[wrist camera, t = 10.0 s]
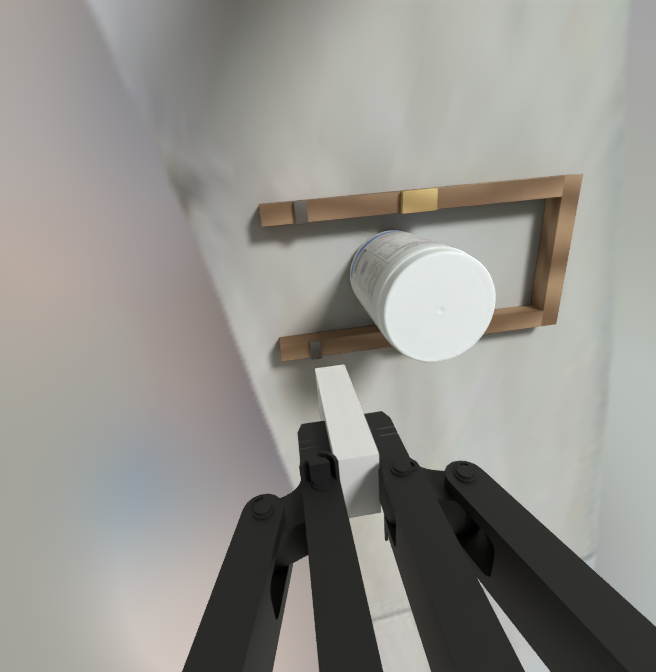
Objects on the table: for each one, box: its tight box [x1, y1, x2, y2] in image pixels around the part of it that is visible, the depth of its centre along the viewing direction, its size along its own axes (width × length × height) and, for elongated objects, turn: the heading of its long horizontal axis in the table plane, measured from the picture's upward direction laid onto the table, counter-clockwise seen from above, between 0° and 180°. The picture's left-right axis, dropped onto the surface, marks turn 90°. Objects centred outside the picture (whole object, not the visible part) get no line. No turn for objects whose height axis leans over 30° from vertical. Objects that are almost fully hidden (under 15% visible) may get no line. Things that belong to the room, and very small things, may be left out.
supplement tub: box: [350, 230, 495, 362], centre depth 35 cm, size 10×10×15 cm
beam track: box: [259, 174, 583, 361], centre depth 41 cm, size 17×34×3 cm, turn 95°
